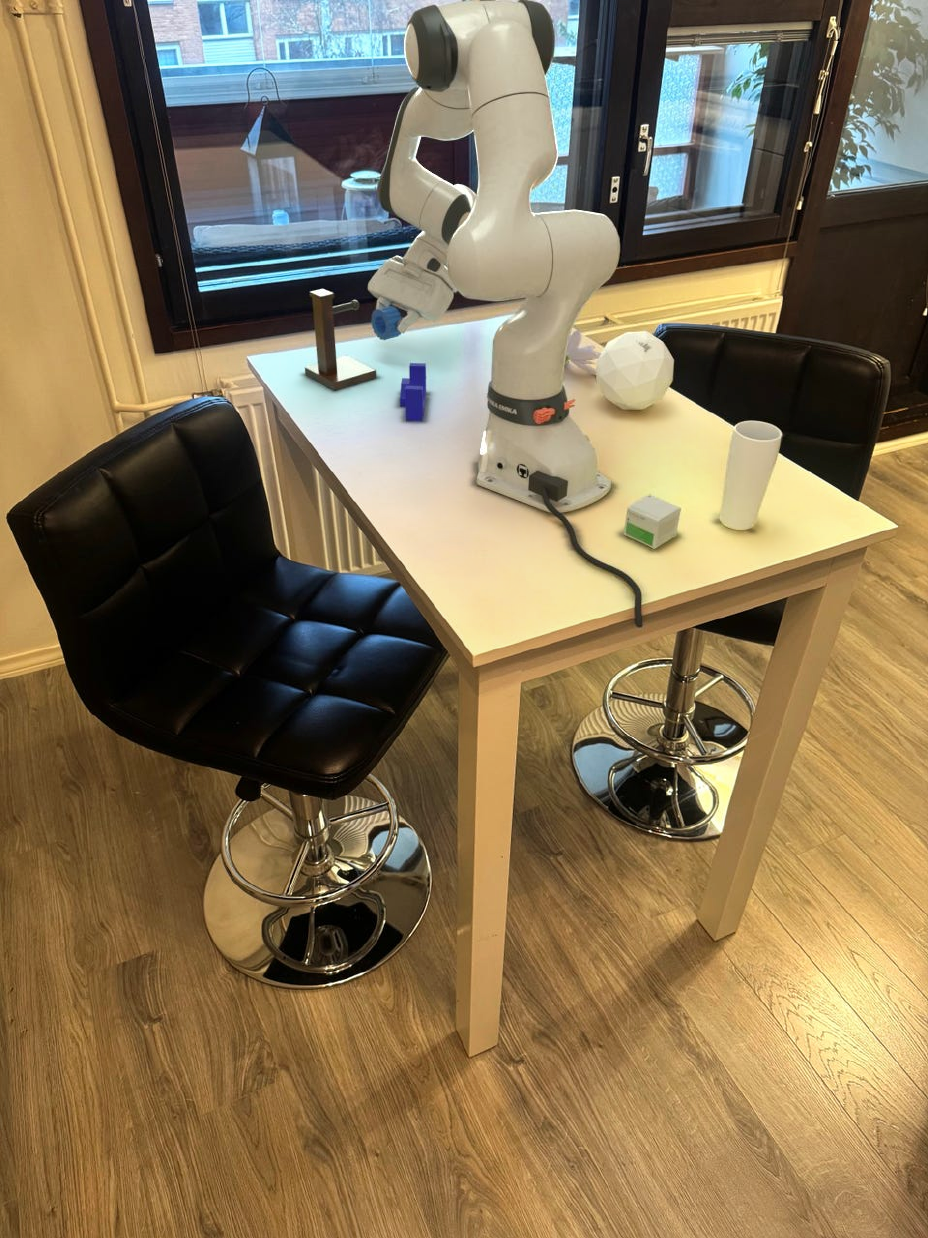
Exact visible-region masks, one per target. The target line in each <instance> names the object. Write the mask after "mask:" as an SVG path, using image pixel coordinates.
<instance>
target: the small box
mask: <svg viewBox="0 0 928 1238" xmlns="http://www.w3.org/2000/svg"><path fill="white" fill-rule="evenodd" d="M681 511H682V508H681V507H680V506H678V505H676V504H673V503H671V502H669V501H666V500H664V499H662V498H659V497H658V496H655V495H652V494H651V493H650V494H647V495H645V496H644V497H642V498H640V499H638V500H636V501H635V502H633V503H632V504H630V505H629V506H627V508H626V514H625V523H624V529H623V535H624V536H626V537H629V538H630V539H632V540H635V541H637V542H639V543H641V544H643V545H645V546H648V547H650V548H651V549H653V550H656V549H657V548H659V547H660V546H662V545H664V544H665V543H667V542H668V541H669V540H671V539H673V538H675V537H677V534H678V527H679V522H680V515H681Z"/></svg>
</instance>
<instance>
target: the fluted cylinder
mask: <svg viewBox="0 0 928 1238" xmlns="http://www.w3.org/2000/svg"><path fill="white" fill-rule="evenodd" d="M402 319H403V317H402V315H401V312H400V311H399V310H398V307H396V306H394V305H389V306H387V307H383V308H379V309H376V308H375V310H373V311H372V313H371V319H370V322H371V328H372V329H373V332H374V334H375V335H376V337H377V338H378V339H380V340H383V341H387V340H390V339H394V338H397V337H399V336H401V335H402V333H400V332H398V331H397V330H396V329H395V325H396V324H397V321H398V320H400V321H401V320H402Z"/></svg>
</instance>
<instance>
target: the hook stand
mask: <svg viewBox="0 0 928 1238" xmlns="http://www.w3.org/2000/svg"><path fill="white" fill-rule="evenodd" d="M309 297H311V301H312V311H313V312H312V313H313V322H314V323H313V324H314V334H315V344H316V345H315V346H316V360H317V363H315V364H311V365H308V366H305V367H304V375H305V376H306V377H308V378H310V379H312V380H314V381H315V382H318V383H319V384H321V385H323V386H324V387H326V388H328V389H329V390H332V391H338V390H341V389H346V388H348V387H351V386H355V385H358V384H362V383H364V382H368V381H371V380H375V379H377V370H376V369H375V368H372V367H371V366H368V365H367V364H365V363H362V362H361V361H358V360H357V359H354V358H352V357H351V356H348V355H342V356H339V357H337V348H336V334H335V320H334V314H338V313H342V312H346V311H351V310H353V311H357V310H358V309H359V308H360V302H359V301H358V300H356V299H353V300H351V301H350V302H347V303H342V304H339V305H333V299H334V298H335V293H334V292H333V291H329V290H328V289H327V290H326V289H324V288H320V289H316V290H312V291H311V290H310V291H309Z"/></svg>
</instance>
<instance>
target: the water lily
mask: <svg viewBox="0 0 928 1238" xmlns="http://www.w3.org/2000/svg"><path fill="white" fill-rule="evenodd" d="M581 342H582V333H581V331H580V330H579V329H576V330H574V331H573V332H571V334H570V337H569V341H568V345H567V352H566V358H565V365H567V364H569V363H570V362H571V363H572V364H573V365H575V366H577V367H578V369H580V370H583V371H585V372H587V373H588V374H590V375H593V376H594V375H595V376H596V372H597V369H595V368H594V367H592V366H590V365H596V362H594V361H593V360H598V358H599V356H600V355H601V353H602V352H601V353H600V352H599V351H594V350H595V348H596V346H594V345H585V346H582V347H580V345H581Z"/></svg>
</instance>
